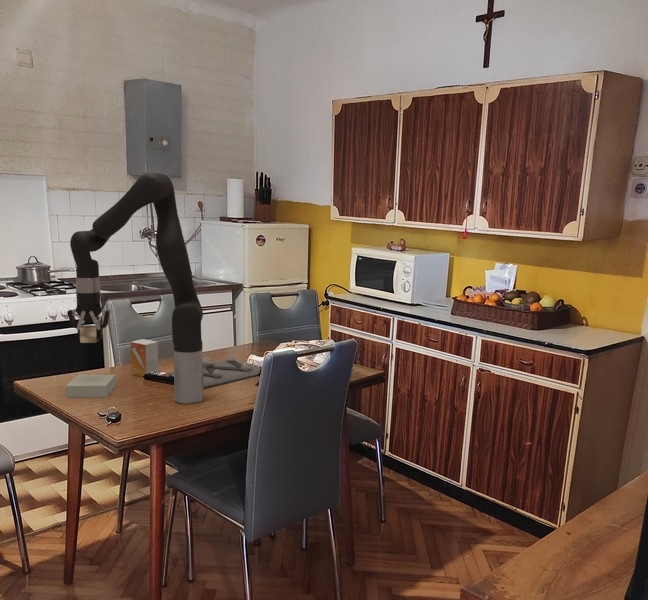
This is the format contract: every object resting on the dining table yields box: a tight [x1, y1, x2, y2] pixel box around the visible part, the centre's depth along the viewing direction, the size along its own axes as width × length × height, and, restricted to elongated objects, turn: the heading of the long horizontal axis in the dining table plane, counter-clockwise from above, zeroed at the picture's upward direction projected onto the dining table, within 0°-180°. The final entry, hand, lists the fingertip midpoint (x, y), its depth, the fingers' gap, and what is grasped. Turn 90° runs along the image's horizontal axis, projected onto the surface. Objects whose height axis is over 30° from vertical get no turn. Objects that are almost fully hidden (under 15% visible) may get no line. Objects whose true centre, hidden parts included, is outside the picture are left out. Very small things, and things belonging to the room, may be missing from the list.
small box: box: [130, 338, 159, 378], centre depth 221 cm, size 8×6×13 cm
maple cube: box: [79, 324, 100, 344], centre depth 197 cm, size 5×5×5 cm
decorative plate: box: [170, 354, 261, 390], centre depth 223 cm, size 30×22×7 cm
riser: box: [65, 374, 117, 398], centre depth 200 cm, size 13×13×4 cm
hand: (90, 339), depth 198 cm, fingers closed on maple cube, 5 cm apart
